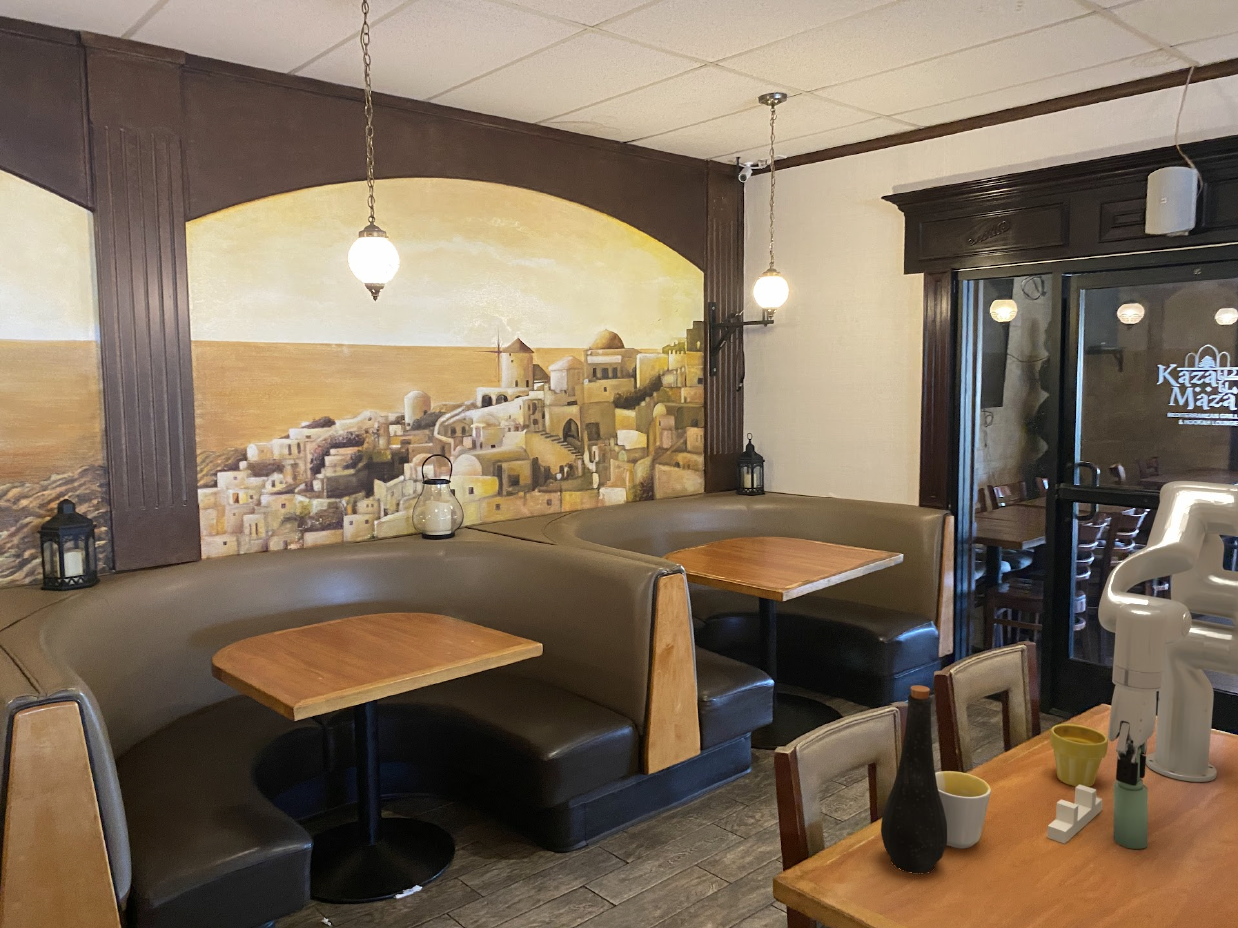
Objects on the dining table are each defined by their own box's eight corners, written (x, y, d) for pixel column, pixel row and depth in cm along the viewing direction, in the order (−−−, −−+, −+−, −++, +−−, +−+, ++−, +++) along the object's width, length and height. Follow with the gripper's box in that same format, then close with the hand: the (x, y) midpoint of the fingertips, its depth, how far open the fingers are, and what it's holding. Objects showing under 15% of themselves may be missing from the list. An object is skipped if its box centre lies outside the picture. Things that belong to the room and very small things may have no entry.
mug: (962, 861, 157) (965, 801, 156) (913, 835, 165) (915, 778, 164) (1012, 840, 164) (1015, 782, 163) (963, 816, 173) (965, 761, 172)
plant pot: (1116, 790, 184) (1119, 742, 183) (1068, 793, 182) (1071, 744, 181) (1083, 767, 194) (1086, 722, 193) (1037, 770, 193) (1039, 724, 192)
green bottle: (1118, 831, 167) (1118, 739, 166) (1151, 840, 164) (1151, 745, 162) (1109, 842, 164) (1109, 748, 162) (1142, 851, 160) (1142, 755, 159)
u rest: (1084, 804, 178) (1086, 778, 177) (1101, 810, 175) (1103, 783, 175) (1047, 837, 165) (1048, 809, 165) (1064, 843, 163) (1066, 815, 162)
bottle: (950, 883, 150) (959, 702, 147) (882, 875, 152) (889, 696, 149) (941, 849, 161) (949, 680, 157) (877, 843, 163) (884, 675, 159)
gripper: (1129, 661, 169) (1122, 759, 171) (1097, 682, 158) (1090, 786, 160) (1176, 671, 164) (1168, 771, 166) (1146, 693, 153) (1138, 801, 154)
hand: (1130, 778), depth 163 cm, fingers closed on green bottle, 3 cm apart
